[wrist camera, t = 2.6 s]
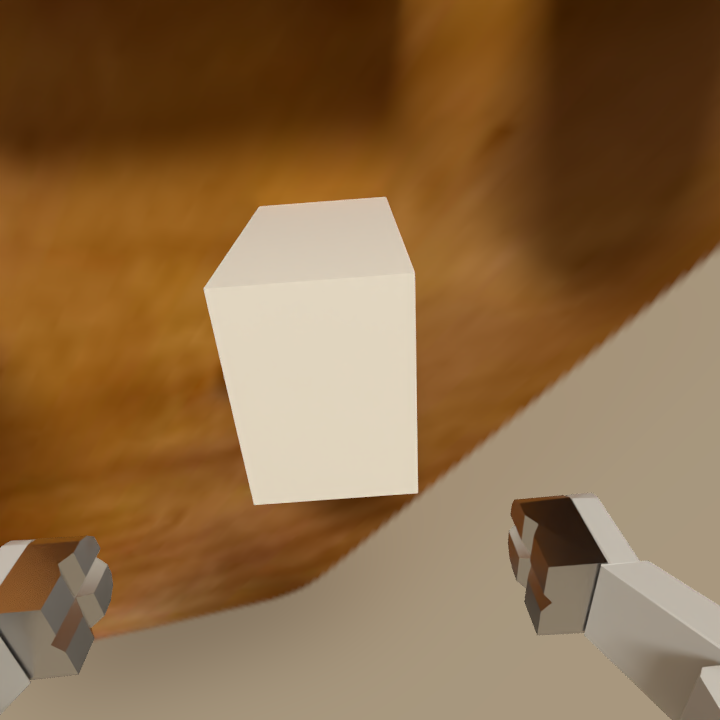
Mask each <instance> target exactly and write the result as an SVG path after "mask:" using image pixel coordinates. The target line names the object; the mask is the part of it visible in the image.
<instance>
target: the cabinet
mask: <svg viewBox="0 0 720 720" xmlns="http://www.w3.org/2000/svg"><path fill="white" fill-rule="evenodd" d="M204 293H205V297H206V301H207V306H208V310H209V314H210V318H211V323H212V327H213V331H214V336H215V340H216V344H217V348H218V353H219V357H220V361H221V365H222V370H223V374H224V378H225V383H226V387H227V391H228V395H229V400H230V404H231V408H232V412H233V417H234V421H235V425H236V430H237V434H238V438H239V442H240V447H241V451H242V455H243V459H244V464H245V468H246V472H247V477H248V481H249V485H250V489H251V494H252V498H253V502H254V505H261V504H274V503H288V502H302V501H316V500H330V499H344V498H358V497H371V496H385V495H399V494H413V493H418V455H417V385H416V315H415V272H414V269H413V267H412V264H411V261H410V259H409V256H408V253H407V251H406V248H405V246H404V243H403V240H402V238H401V235H400V232H399V230H398V227H397V225H396V222H395V219H394V217H393V214H392V212H391V209H390V206H389V204H388V201H387V198H386V197H377V198H364V199H351V200H338V201H325V202H312V203H299V204H286V205H273V206H260V207H259V208H258V209H257V210H256V212H255V213H254V215H253V216H252V218H251V219H250V221H249V222H248V224H247V225H246V227H245V228H244V230H243V231H242V233H241V234H240V236H239V237H238V239H237V240H236V241H235V243H234V244H233V246H232V247H231V249H230V250H229V252H228V253H227V255H226V256H225V258H224V259H223V261H222V262H221V264H220V265H219V267H218V268H217V270H216V271H215V272H214V274H213V275H212V277H211V278H210V280H209V281H208V283H207V284H206V286H205V287H204Z"/></svg>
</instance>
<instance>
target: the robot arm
mask: <svg viewBox="0 0 720 720" xmlns="http://www.w3.org/2000/svg"><path fill="white" fill-rule="evenodd" d="M511 517H512V519H513V521H514V524H515V525H514V526H513V527H512V528H511V530H509V538H508V547H509V556H510V561H511V564H512V569H513V572H514V575H515V577H516V580H517V581H518V582H519V583H520V584H521V585H522V586H524V587H525V588H526V594H525V604H526V607H527V610H528V612H529V615H530V617H531V620H532V623H533V625H534V628H535V631H536V633H537V635H551V634H569V633H585V634H584V635H585V637H586V638H587V639H589V640H590V641H591V642H592V643H593V644H594V645H595V646H596V647H597V648H598V649H599V650H600V651H601V652H602V653H603V654H604V655H605V656H606V657H607V658H608V659H609V660H610V661H611V662H612V663H614V665H615V666H617V667H618V668H619V669H620V670H621V671H622V672H623V673H624V674H625V675H626V676H627V677H628V678H629V679H630V680H631V681H632V682H633V683H634V684H635V685H636V686H637V687H638V688H639V689H640V690H641V691H643V692H644V693H645V694H646V695H647V696H648V697H649V698H650V699H651V700H652V701H653V702H654V703H655V704H656V705H657V706H658V707H659V708H660V709H661V710H662V711H663V712H664V713H666V715H667V716H668V717H670V718H671V719H672V720H720V606H719V605H718V604H716V603H715V602H713V601H711V600H710V599H708V598H707V597H705V596H704V595H702V594H700V593H699V592H697V591H695V590H694V589H692V588H691V587H689V586H688V585H686V584H685V583H683V582H681V581H680V580H678V579H677V578H675V577H673V576H672V575H670V574H669V573H667V572H665V571H664V570H662V569H661V568H659V567H658V566H656V565H654V564H653V563H651V562H650V561H640V560H639V559H638V557H637V556H636V554H635V553H634V551H633V550H632V548H631V547H630V545H629V544H628V542H627V541H626V539H625V538H624V536H623V535H622V533H621V532H620V530H619V529H618V527H617V526H616V524H615V523H614V521H613V520H612V518H611V517H610V515H609V513H608V512H607V510H606V509H605V508H604V506H603V504H602V503H601V501H600V500H599V498H598V497H597V496H596V495H595V494H593V493H582V494H571V495H566V496H564V495H561V496H549V497H539V498H528V499H519V500H518V499H517V500H514V501H513V504H512V508H511ZM99 550H100V547H99V545H98V543H97V541H96V540H95V538H94V537H92V536H75V537H57V538H40V539H31V540H14V541H9V542H8V543H6V544H5V545H3V546H1V548H0V715H1V714H2V712H3V711H4V710H5V709H6V708H7V707H8V706H9V705H10V704H11V703H12V702H13V701H14V700H15V699H16V698H17V697H18V696H19V695H20V693H21V692H23V690H24V689H25V688H26V687H27V686H28V685H29V684H30V683H31V681H30V680H34V679H42V678H51V677H60V676H68V675H77V674H79V672H80V670H81V667H82V665H83V663H84V661H85V659H86V656H87V654H88V651H89V649H90V647H91V645H92V643H93V641H94V635H93V632H92V629H91V627H92V626H94V625H95V624H96V623H97V622H98V621H99V620H100V619H101V618H102V617H103V616H104V615H105V613H106V611H107V608H108V606H109V603H110V601H111V594H112V588H113V582H112V574H111V571H110V569H109V567H108V565H107V564H106V563H104V562H103V561H101V560H100V559H98V558H96V556H97V554H98V552H99Z"/></svg>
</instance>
